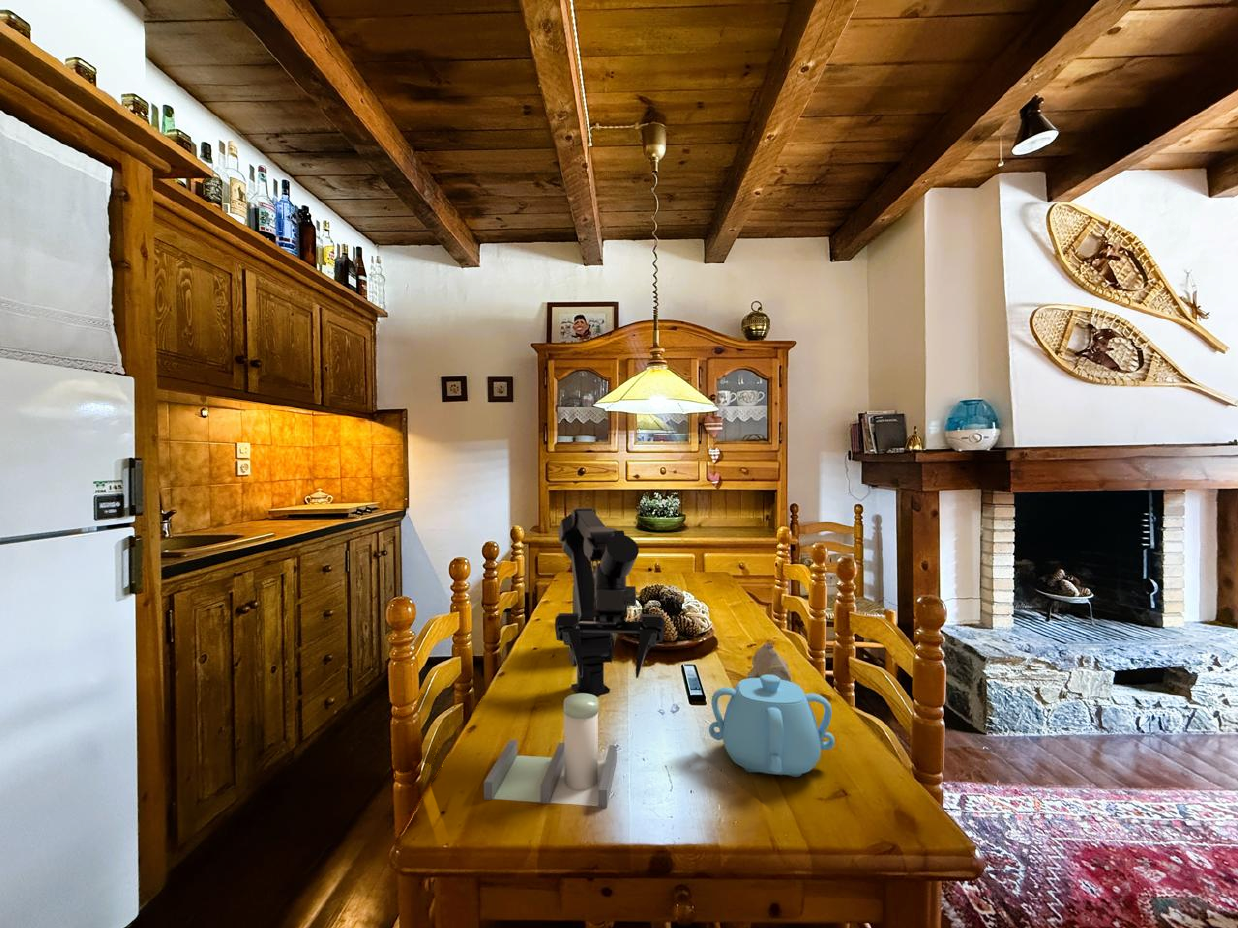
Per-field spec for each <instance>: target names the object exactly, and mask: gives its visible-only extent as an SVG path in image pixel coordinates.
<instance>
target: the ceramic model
mask: <svg viewBox="0 0 1238 928" xmlns="http://www.w3.org/2000/svg"><path fill="white" fill-rule="evenodd" d="M751 662H752V666H753V667H752V668H751V669H750V671H748V672H747V674H746V675H747V677H746V678H747V679H748V678H760V677H761V676H762V675H775V676H777V677H779V678H780V679H781V680H785V681H790V682H793V680H792V674H791V671H790V669H789V664H788V663H787V661H786V660H785V659H784V658H783V657H782V656H781V655H779V653H778V652H777V651H776V650H775V648H774V644H773V642H765V643H764V644H763V645H762V646H760V647H759V648H758V650H756V651H755V654H754V655H753V657H752V660H751Z"/></svg>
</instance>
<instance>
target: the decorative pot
mask: <svg viewBox="0 0 1238 928" xmlns="http://www.w3.org/2000/svg"><path fill="white" fill-rule="evenodd" d="M711 696H712V697H711V701H710V702H711V707H712V713H713V714H714V718H715V720H716V721H713V722H711V723H710V724H709V725H708V726H709V727H708V733H709V735H710V736H711V738H713V739H714V740H715V741H716V740H718V741H721V740H722V741H723V744H724V745H723V746H724V748H725V750H726V752H727V754H728V755H729V756H730V758H731V760H732V761H733V762H734V763H735V764H736V765H738V766H739V767H742V769H743V770H744V769H745V770H744V771H745V772H748V773H751V772H753V773H754V772H755V773H763V774H769V775H776V776H777V775H778V776H783V775H784V776H790V777H792V778H793V777H794V778H800V777H801V776H802V774H806V773H808V772H810V771H812V770H813V769H814V768H815V766H817V763H818V762H819V760H820V759H821V755H822V750H824V751H829V750H831V749H833V747H834V746H835V744H836V743H835V737H834V735H833V734H832V733H830V732H827V730H828V727H829V724H830V723H831V719H832V714H833V710H832V706H831V703H830V702H829V701H828V700H827V699H826V698H825V697H823V696H822V695H820V694H817V693H806V694H805V692H804V690H803V688H802V687H801V686H800V685H799V684H797V683H795V682H793V681H792V682H790V681H785V680H781V679H780V678H779V677H777V676H775V675H762V676H761V677H760V678H748V677H747V678H744V679H740V681H738V683H737V684H736V686H735V688H731V687H730V686H729V687H728V686H727V687H726V686H725V687H721V688H719V689H717V690H716V691H715V692H713V695H711ZM722 696H730V698H729V701H728V703H727V706H726V709H725V712H724V717H722V713H721V712H720V709H719V703H718V699H720V697H722ZM810 702H814V703H815V702H816V703H819V704H821V705H823V707H824V714H823V718H822V721H821V723H820V726H818V722H817V717H816V716H815V713H814V711H813V708H812V707H811V705H810ZM715 728H718V729H719V731H716V729H715ZM824 738H827V739H828V741H824ZM755 773H754V774H755Z"/></svg>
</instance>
